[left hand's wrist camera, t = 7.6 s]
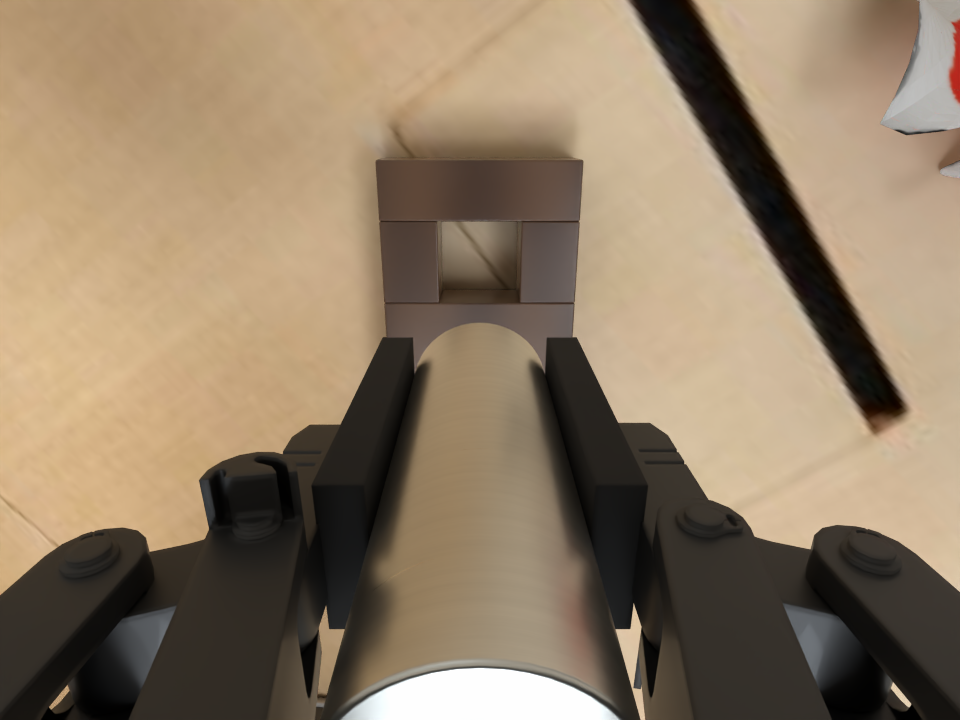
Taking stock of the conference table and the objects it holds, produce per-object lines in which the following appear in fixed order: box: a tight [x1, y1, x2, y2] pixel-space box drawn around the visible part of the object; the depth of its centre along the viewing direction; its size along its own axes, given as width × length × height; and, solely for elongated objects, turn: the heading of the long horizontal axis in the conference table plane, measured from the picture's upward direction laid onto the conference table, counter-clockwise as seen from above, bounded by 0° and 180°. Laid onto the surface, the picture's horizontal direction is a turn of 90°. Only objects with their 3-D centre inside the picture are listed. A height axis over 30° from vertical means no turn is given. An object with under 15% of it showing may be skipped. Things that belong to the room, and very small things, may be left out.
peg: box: [320, 323, 640, 720], centre depth 10 cm, size 3×3×10 cm
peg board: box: [376, 158, 583, 373], centre depth 30 cm, size 10×24×9 cm, turn 0°
